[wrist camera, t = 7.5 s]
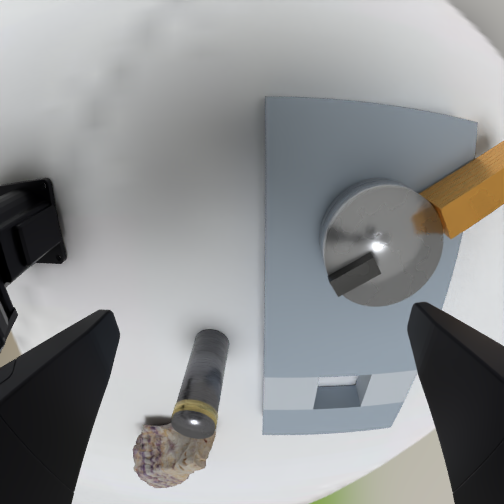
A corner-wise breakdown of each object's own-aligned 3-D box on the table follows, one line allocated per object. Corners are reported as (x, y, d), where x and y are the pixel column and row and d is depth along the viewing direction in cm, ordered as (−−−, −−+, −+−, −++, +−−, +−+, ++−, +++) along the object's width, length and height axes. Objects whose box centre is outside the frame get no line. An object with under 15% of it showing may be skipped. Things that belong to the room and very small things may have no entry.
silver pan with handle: (296, 217, 16) (300, 236, 14) (499, 100, 12) (526, 103, 10) (349, 304, 18) (359, 332, 16) (526, 194, 14) (550, 207, 12)
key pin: (196, 354, 24) (174, 436, 17) (192, 328, 23) (166, 412, 16) (230, 356, 24) (217, 441, 17) (228, 329, 23) (212, 417, 16)
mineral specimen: (157, 393, 27) (139, 446, 22) (225, 420, 28) (217, 472, 23) (132, 442, 32) (119, 482, 27) (185, 462, 33) (177, 502, 28)
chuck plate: (263, 413, 27) (262, 434, 25) (265, 98, 16) (265, 96, 14) (385, 407, 27) (390, 427, 24) (456, 119, 16) (477, 122, 13)
